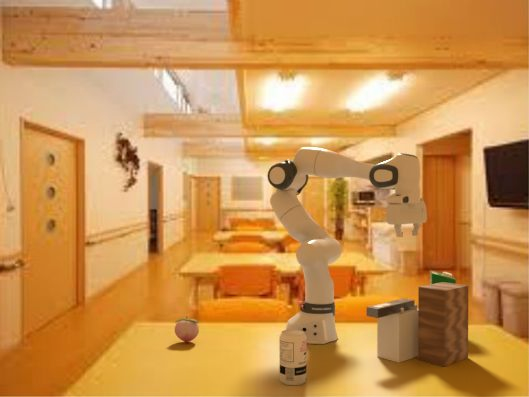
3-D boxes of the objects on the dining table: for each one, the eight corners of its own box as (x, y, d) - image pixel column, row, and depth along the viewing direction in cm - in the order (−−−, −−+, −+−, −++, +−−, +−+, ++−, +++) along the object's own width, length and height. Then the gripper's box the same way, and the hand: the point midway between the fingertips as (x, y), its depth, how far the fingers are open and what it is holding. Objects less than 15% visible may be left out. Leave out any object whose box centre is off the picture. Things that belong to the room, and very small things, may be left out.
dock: (398, 362, 194) (399, 309, 194) (377, 356, 201) (377, 305, 201) (422, 354, 203) (422, 304, 203) (401, 349, 210) (401, 300, 210)
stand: (444, 366, 190) (444, 290, 189) (418, 359, 197) (418, 286, 197) (467, 357, 200) (468, 285, 199) (442, 351, 207) (442, 282, 207)
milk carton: (455, 337, 227) (455, 273, 226) (431, 336, 228) (431, 273, 228) (452, 331, 235) (453, 270, 235) (429, 330, 237) (430, 269, 237)
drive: (377, 318, 189) (377, 308, 189) (366, 315, 193) (366, 306, 193) (414, 308, 204) (414, 299, 204) (403, 306, 208) (403, 297, 208)
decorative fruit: (201, 339, 223) (201, 313, 223) (196, 345, 215) (196, 318, 215) (177, 339, 224) (177, 313, 224) (172, 344, 216) (172, 318, 216)
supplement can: (278, 377, 179) (278, 329, 179) (304, 376, 180) (304, 328, 180) (281, 386, 171) (281, 336, 171) (308, 385, 172) (308, 335, 171)
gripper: (416, 197, 219) (416, 234, 219) (383, 198, 205) (383, 237, 205) (431, 197, 214) (431, 235, 214) (398, 198, 200) (398, 238, 201)
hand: (407, 236), depth 210 cm, fingers open, 8 cm apart
